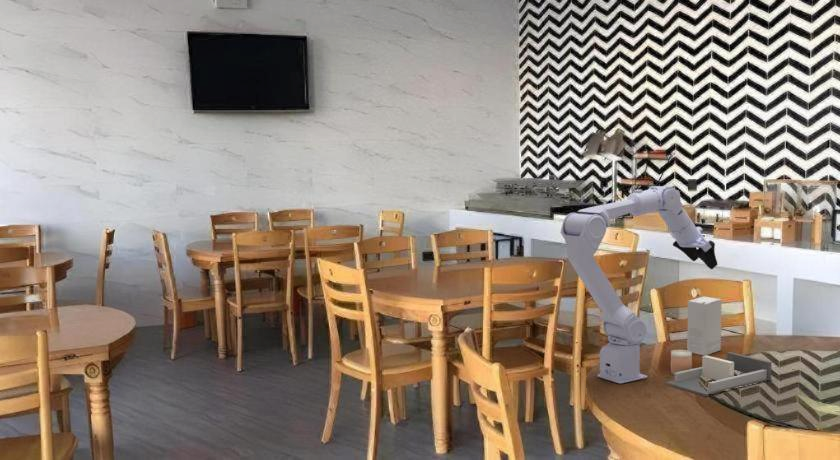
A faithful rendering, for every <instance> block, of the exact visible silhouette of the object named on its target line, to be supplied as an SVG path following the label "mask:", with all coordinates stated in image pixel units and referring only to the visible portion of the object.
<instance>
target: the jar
mask: <svg viewBox="0 0 840 460" xmlns="http://www.w3.org/2000/svg"><path fill="white" fill-rule="evenodd" d="M690 369H693V353H692V352H691V351H688V350H687V349H673V350H671V351H670V374H671V375H673V376H674V373H676V372H681V371H685V370H690Z"/></svg>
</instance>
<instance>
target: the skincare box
mask: <svg viewBox="0 0 840 460" xmlns="http://www.w3.org/2000/svg"><path fill="white" fill-rule="evenodd" d="M686 330H687V331H686V333H687V335H686V337H687V338H686V339H687V340H686V343H687V344H686V348H687V349H686V350H688V351H691V352H692V354H696V355H700V356H706V355H707V356H709V355H711V354H713V353H716V352H718V351H719V352H720V351H721V348H722V299H721V298H716V297H709V296H701V297H697V298H695V299H690V300H687V329H686Z"/></svg>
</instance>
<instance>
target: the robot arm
mask: <svg viewBox="0 0 840 460" xmlns="http://www.w3.org/2000/svg"><path fill="white" fill-rule="evenodd" d="M655 212H658V214H659V216H660V217H661V218H662V220H663V221H664V223H665V225H666V226H667V228H668V229H669V231H670V232H669V234H670V236H671V237H672V238H673V239H674V240H675V241H674V242H673V243H672V246H673V247H675V248H677V249H678V250H680V251H681V253H684V255H686V256H687V257H688V258H689V259H690V260H691V261H692V262H696V261H697V260H698V259H699V260H701V261H702V262H703V263H704V265H706V267H708V268H709V270H713V269H714V268H715V267H716V266H718V260H717V257H716V254H715V245H716V244H715V242H714V241H712V240H709V241H708V240H706V238H705V237H704V236H703V234H702V233H701V232H702V231H703V228H702V227H701V226H696V225H695V223H694V222H693V220H692V219H691V217H690V216H689V214H688V213H687V211H686V210H685V208H684V206H683V203H682V201H681V193H680V190H678V189H676V188H674V187H673V186H664V185H663V186H660V185H659V186H658V185H655V186H650V187H649V188H648V189H646V190H643V189H634V192H632V193H630V194H628V196H627V197H626V199H624V200H621V201H616V202H615V201H614V202H610V203H605V204H600V205H595V206H591V207H586V208H582V209H579V210H578V211H577V212H570V213H568V214H567V215H566V216H565V217H564V219H563V221H562V225H561V229H560V234H561V236H562V237H563V239H564V242H565V248H566V253H567V260H568V261H569V263H570V265H571V266H572V268H573V269H574V271H575V272H576V274H577V275H578V277H579V279H580V280H581V281H582V283H583V286H585V288H586V290H587V291H588V293H589V294H590V295H591V297H592V298H593V300H594V302H595V303H596V305H597V307H598V308H599V309H600V312H601V315H600V316H599V320H600V321H601V324H602V329H603V332H604V334H605V335H606V336H607V340H608V341H609V342H608V343H607V344H606V345H604V346H602V347H601V349H600V351H599V373H598V374H597V377H598V378H601V379H604V380H606V381H611V382H613V383H616V384H624V383H629V382H633V381H637V380H642V379H647V378H648V375H646V374H642V373H640V365H641V364H640V362H641V361H640V345H642V342H643V340H644V339H645V337H646V334H647V325H646V322H645V321H644V320H643V319H642V318H640V317H638V315H636V313H635V311H633V310H631V309H630V308H629V307H627V306H626V305H625V304H624V303H623V301H622V300H621V298H620V296H619V294H618V293H617V292H616V290H615V289H614V287H613V285H612V283H611V282H610V281H609V279H608V277H607V276H606V274H605V272H603V269H602V268H601V266H600V264H599V263H598V262H597V260H596V258H595V256H594V255H595V254H596V253H597V252H598V250H599V247H600V245H601V243H602V242H603V239H604V237H605V235H606V232H607V228H610V226H611V225H610V221H611V220H612V219H615V218H616V219H617V218H619V217H621V216H625V215H628V214H631V215H632V216H633V217H639V216H640V217H641V216H643V215H647V214H651V213H655Z"/></svg>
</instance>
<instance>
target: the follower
mask: <svg viewBox="0 0 840 460" xmlns="http://www.w3.org/2000/svg"><path fill="white" fill-rule="evenodd" d="M701 356H702V358H701V359H702V360H701V361H702V365H701V367H702V376H703V377H707V378H710V379H714V380H721V379H725V378H729V377H733V376H734V362H732V361H727V359H723V358H720V357H716V356H710V355H706V356H704V355H701Z"/></svg>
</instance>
